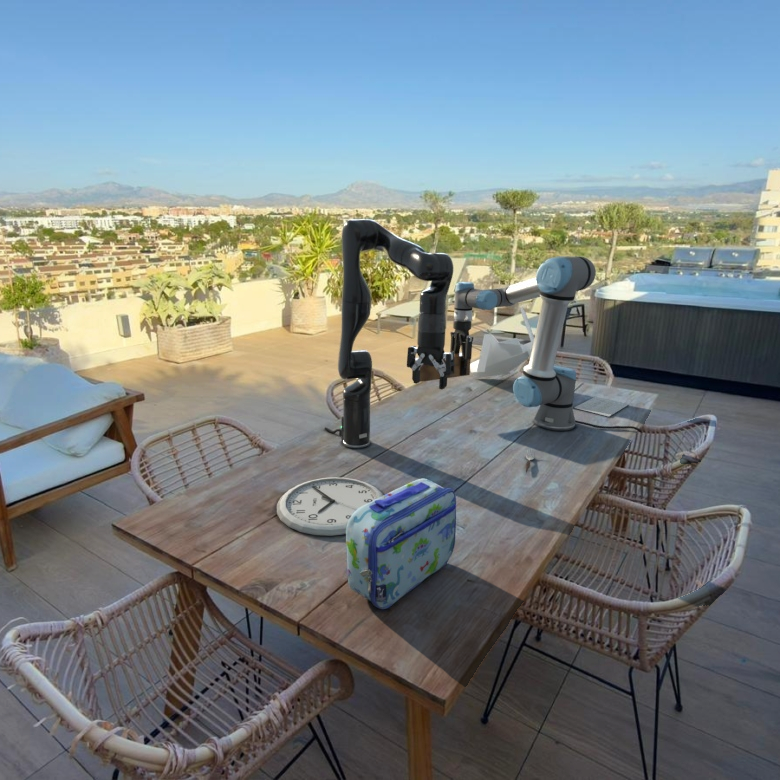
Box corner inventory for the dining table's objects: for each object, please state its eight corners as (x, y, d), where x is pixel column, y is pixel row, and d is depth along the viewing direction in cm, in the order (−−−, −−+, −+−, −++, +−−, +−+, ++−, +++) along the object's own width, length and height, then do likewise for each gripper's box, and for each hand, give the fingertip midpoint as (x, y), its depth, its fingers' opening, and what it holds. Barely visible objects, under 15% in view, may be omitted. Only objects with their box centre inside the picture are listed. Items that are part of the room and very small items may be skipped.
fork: (521, 473, 163) (522, 467, 162) (527, 453, 177) (527, 448, 177) (530, 474, 162) (530, 468, 162) (535, 454, 176) (535, 449, 176)
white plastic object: (490, 419, 265) (470, 397, 240) (471, 347, 287) (451, 319, 262) (561, 395, 253) (548, 369, 228) (536, 321, 275) (521, 290, 250)
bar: (463, 372, 230) (464, 352, 227) (469, 375, 226) (470, 354, 223) (411, 379, 218) (412, 358, 215) (417, 382, 214) (418, 361, 212)
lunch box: (375, 622, 100) (376, 527, 94) (339, 595, 108) (338, 505, 101) (459, 565, 118) (465, 481, 112) (424, 545, 125) (427, 465, 119)
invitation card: (608, 416, 214) (573, 407, 224) (608, 416, 214) (573, 408, 224) (628, 404, 229) (594, 396, 238) (628, 405, 229) (594, 397, 238)
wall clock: (392, 527, 129) (268, 531, 127) (391, 533, 130) (269, 537, 127) (383, 473, 158) (282, 475, 155) (383, 478, 158) (282, 480, 156)
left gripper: (402, 327, 143) (400, 384, 148) (447, 334, 135) (444, 394, 140) (417, 323, 149) (415, 378, 154) (461, 330, 141) (458, 387, 146)
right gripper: (443, 317, 225) (440, 369, 232) (467, 323, 210) (464, 379, 217) (457, 315, 228) (454, 367, 235) (482, 322, 213) (478, 377, 220)
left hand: (429, 385), depth 147 cm, fingers open, 8 cm apart
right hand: (459, 373), depth 226 cm, fingers closed on bar, 5 cm apart
